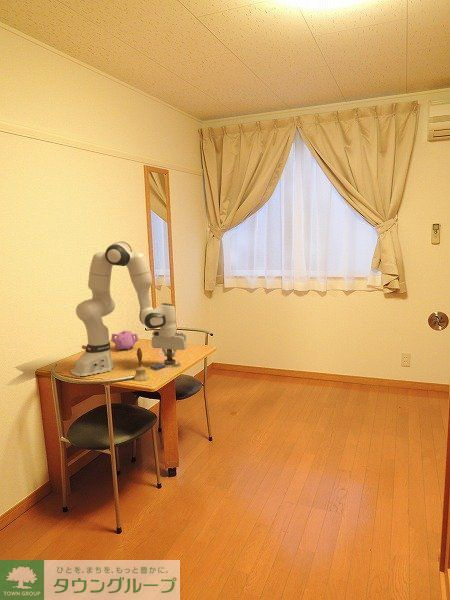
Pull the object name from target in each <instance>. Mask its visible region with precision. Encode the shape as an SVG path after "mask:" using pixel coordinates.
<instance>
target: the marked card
mask: <svg viewBox="0 0 450 600" xmlns="http://www.w3.org/2000/svg"><path fill="white" fill-rule="evenodd" d="M160 364H162V365H165V366H166V368H171V367H174V366H177V365H180V364H181V363H180V362H178V361H176V363H175V364H173V365H166V364H165V363H164V362H163V363H160Z"/></svg>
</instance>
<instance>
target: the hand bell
mask: <svg viewBox="0 0 450 600" xmlns="http://www.w3.org/2000/svg"><path fill="white" fill-rule="evenodd" d="M136 357H137V361H138V367H137V368H136V369H135V370H136V371H135V375H134V376H133V377H134V380H133V381H134V382H144V381H147V380H149V379H150V375H148V373H147V371H146V368H145V366H143V362H142V361H143V352H142V349H141V347H138V348H137V350H136Z"/></svg>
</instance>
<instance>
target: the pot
mask: <svg viewBox="0 0 450 600" xmlns="http://www.w3.org/2000/svg"><path fill="white" fill-rule="evenodd" d="M110 340H111V342H112V343H113V344H114V346H115V347H116V349H117V351H122V350H123V349H124V350H125V349H126V351H130V350H131V348H133V347H134V346H135V344H136V343H137V342H138V341H139V336H138V333H132V331H130V330H122V331H120V332H119V333H112V334H111V338H110Z"/></svg>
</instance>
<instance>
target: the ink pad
mask: <svg viewBox="0 0 450 600" xmlns="http://www.w3.org/2000/svg"><path fill="white" fill-rule="evenodd" d="M165 368H167V367H166V366H165V365H162V364H161V363H156V364H153V365H150V366H149V369H151V370H153V371H159V370H162V369H165Z"/></svg>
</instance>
